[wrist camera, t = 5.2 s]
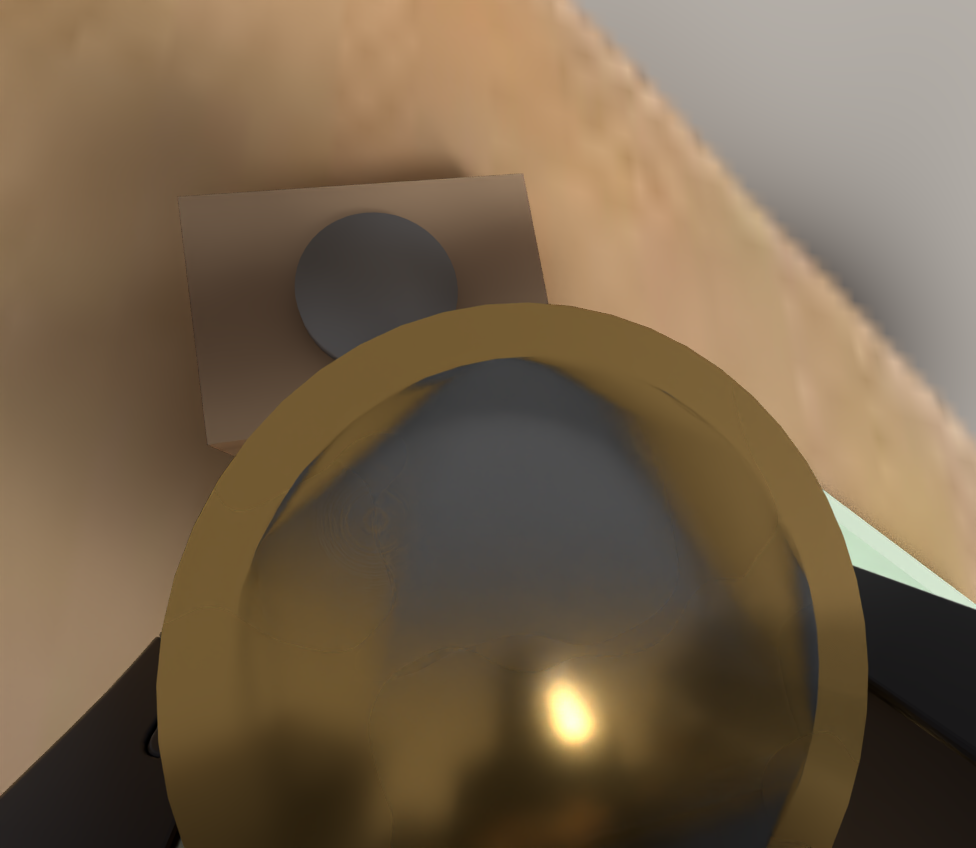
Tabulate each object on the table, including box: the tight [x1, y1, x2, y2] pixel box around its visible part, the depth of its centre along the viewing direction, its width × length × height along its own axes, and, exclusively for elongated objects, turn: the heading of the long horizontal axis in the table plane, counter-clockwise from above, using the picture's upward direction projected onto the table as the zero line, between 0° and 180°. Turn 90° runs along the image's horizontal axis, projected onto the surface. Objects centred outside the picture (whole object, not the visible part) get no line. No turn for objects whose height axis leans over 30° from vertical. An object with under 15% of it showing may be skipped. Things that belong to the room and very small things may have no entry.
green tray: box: [822, 489, 976, 609], centre depth 20 cm, size 13×13×3 cm
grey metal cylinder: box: [156, 303, 868, 848], centre depth 10 cm, size 5×5×13 cm
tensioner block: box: [178, 174, 548, 456], centre depth 19 cm, size 7×10×5 cm
